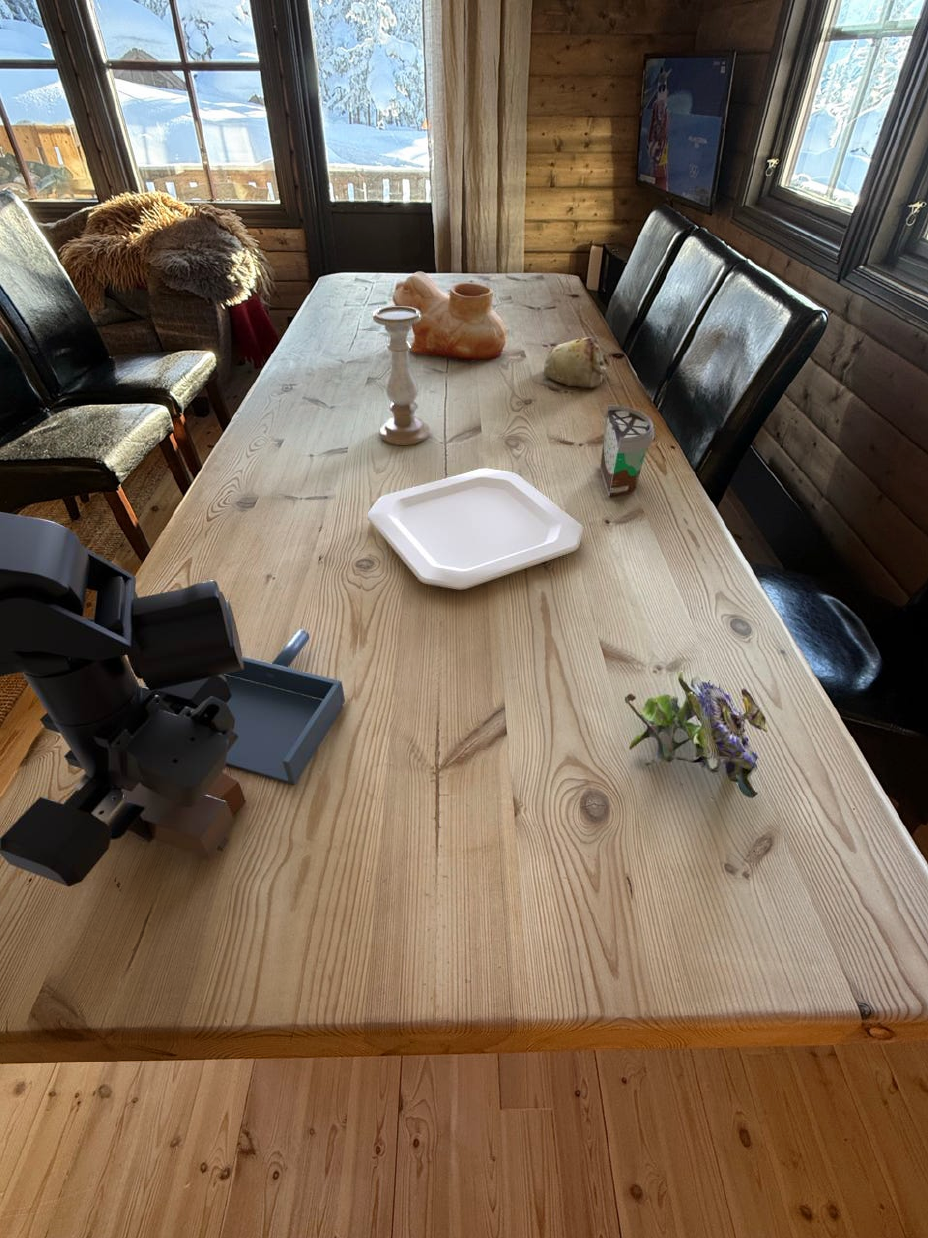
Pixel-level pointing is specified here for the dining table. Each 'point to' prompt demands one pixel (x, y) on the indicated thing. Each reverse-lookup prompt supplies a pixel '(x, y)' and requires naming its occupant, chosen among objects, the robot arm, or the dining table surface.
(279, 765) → the dustpan
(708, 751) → the passion flower
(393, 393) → the candle holder
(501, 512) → the plate
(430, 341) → the ceramic vessel
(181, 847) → the brown long block
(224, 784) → the crumb
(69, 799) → the robot arm
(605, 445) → the food container
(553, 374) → the pastry
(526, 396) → the dining table surface
